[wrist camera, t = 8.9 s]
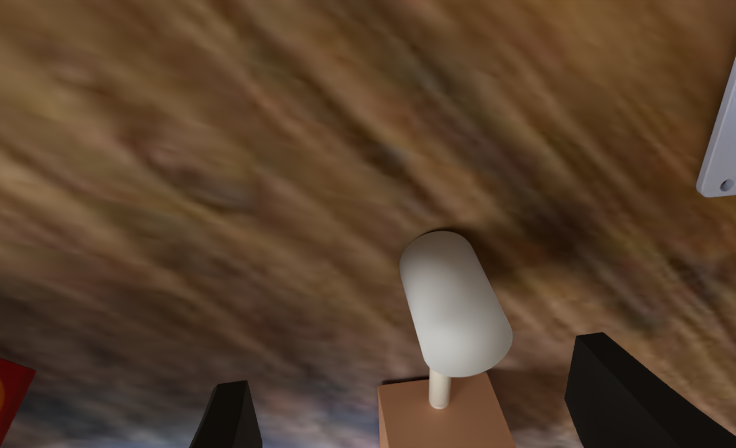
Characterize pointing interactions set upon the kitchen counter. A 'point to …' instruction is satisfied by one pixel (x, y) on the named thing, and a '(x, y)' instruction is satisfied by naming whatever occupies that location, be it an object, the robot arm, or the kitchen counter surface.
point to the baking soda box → (12, 392)
